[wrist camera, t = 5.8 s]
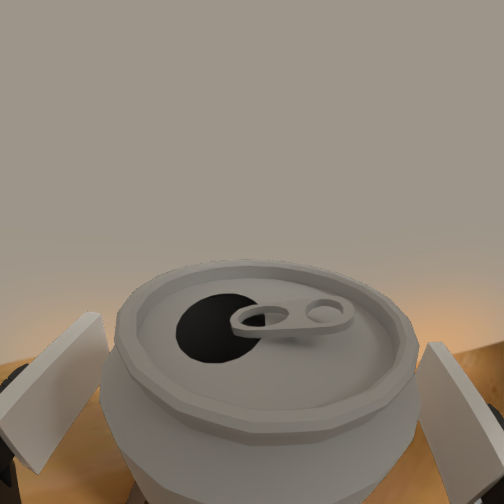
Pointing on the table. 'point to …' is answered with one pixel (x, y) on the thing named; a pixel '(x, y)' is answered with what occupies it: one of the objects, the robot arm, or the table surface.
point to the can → (260, 385)
